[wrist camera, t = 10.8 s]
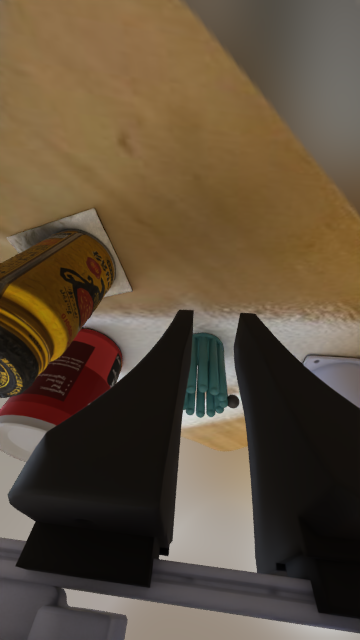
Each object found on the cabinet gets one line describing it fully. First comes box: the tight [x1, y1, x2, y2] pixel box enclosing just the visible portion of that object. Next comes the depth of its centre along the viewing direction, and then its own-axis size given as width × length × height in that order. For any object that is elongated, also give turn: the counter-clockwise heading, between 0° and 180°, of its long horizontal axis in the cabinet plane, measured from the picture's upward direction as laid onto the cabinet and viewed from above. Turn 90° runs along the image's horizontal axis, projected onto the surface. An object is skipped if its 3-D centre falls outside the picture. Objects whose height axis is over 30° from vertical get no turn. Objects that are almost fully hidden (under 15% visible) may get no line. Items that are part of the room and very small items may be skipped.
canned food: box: [0, 328, 122, 462], centre depth 22 cm, size 8×8×11 cm
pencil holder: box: [183, 333, 239, 418], centre depth 22 cm, size 7×6×5 cm
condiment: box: [0, 208, 132, 398], centre depth 15 cm, size 7×8×12 cm
